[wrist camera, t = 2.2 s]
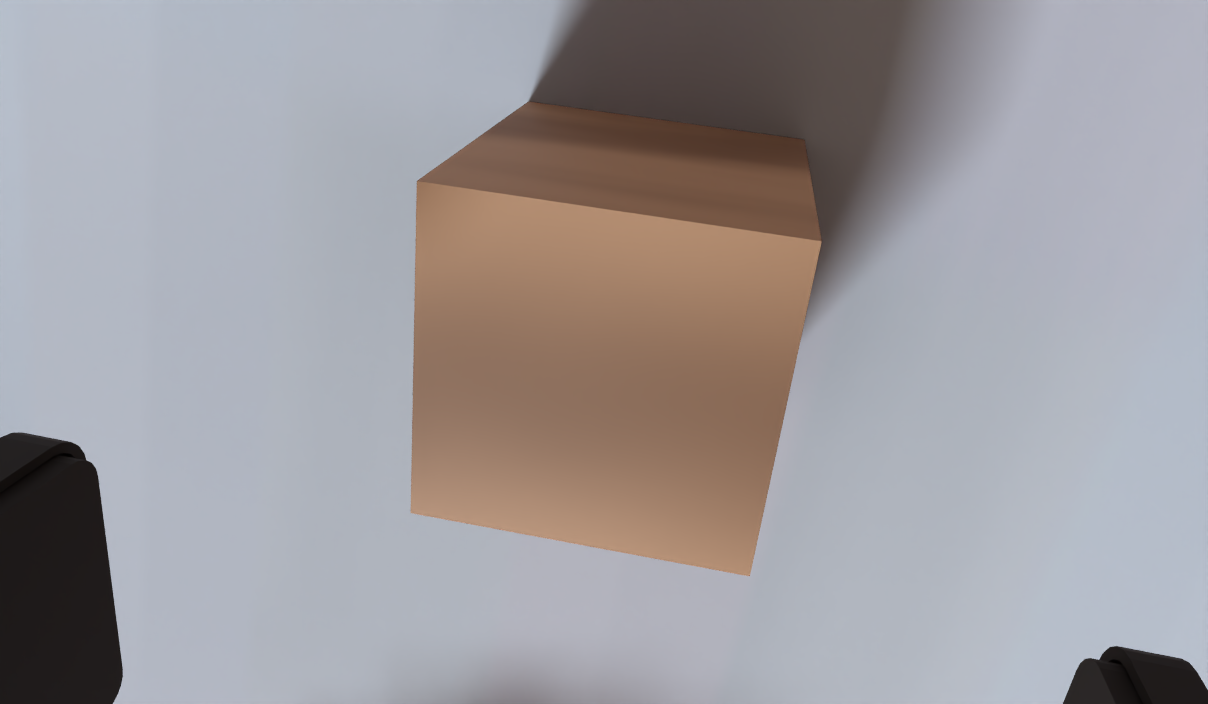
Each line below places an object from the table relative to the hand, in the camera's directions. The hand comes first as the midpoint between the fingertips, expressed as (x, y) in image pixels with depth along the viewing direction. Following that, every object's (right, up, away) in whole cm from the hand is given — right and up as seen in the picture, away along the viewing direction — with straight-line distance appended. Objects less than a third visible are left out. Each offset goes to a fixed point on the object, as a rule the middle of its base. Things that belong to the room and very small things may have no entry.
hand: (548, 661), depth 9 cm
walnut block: (+1, +5, +9) cm, 10 cm away
